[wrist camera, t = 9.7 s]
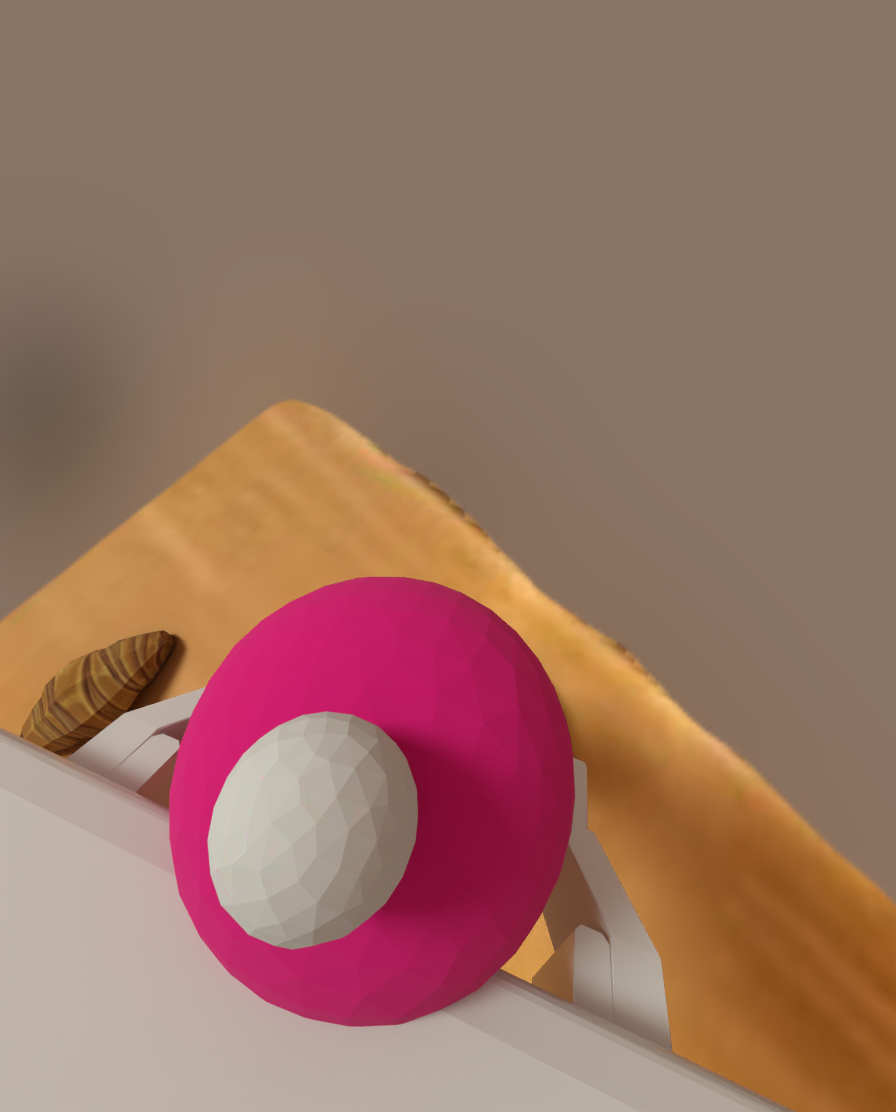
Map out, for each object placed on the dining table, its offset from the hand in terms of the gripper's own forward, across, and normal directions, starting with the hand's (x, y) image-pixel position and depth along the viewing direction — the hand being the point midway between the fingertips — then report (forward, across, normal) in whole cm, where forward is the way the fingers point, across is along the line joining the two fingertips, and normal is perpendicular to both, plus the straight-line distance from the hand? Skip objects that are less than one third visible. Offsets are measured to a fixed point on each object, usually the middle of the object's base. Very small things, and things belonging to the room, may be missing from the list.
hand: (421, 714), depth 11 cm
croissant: (+12, +27, +26) cm, 39 cm away
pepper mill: (+8, 0, +9) cm, 12 cm away
